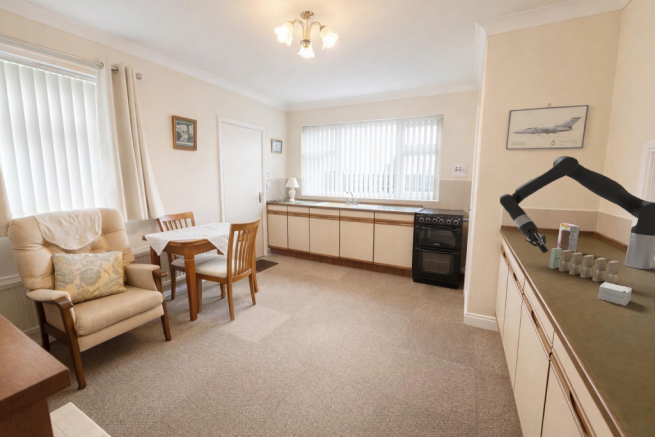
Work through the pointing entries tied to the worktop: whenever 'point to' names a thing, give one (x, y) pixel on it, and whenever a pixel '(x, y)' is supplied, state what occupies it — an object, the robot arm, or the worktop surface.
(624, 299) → the small box
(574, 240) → the candy bar box
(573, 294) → the worktop surface
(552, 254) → the domino
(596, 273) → the domino
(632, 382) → the worktop surface
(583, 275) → the domino
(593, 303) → the worktop surface
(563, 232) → the wooden block
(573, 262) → the domino
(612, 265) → the domino
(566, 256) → the domino
